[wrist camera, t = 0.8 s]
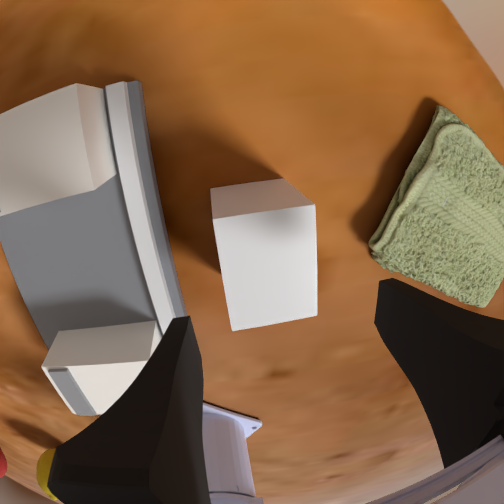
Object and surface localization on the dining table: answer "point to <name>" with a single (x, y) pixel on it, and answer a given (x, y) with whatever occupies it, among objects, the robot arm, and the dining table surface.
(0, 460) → the onion
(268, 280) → the block
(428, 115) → the dining table surface
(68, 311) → the board
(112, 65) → the dining table surface
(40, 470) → the lemon
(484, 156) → the washcloth
